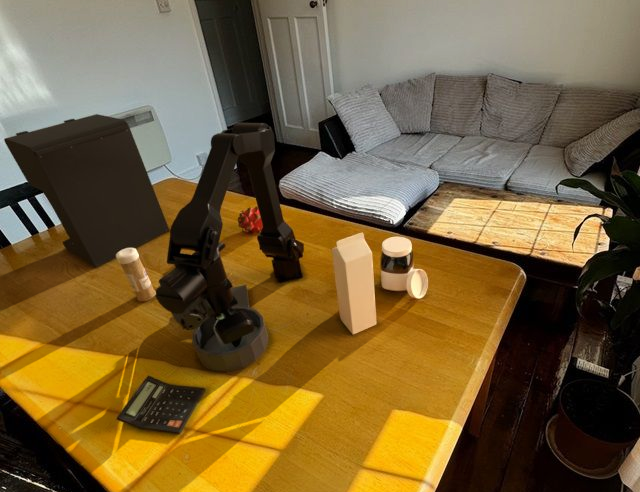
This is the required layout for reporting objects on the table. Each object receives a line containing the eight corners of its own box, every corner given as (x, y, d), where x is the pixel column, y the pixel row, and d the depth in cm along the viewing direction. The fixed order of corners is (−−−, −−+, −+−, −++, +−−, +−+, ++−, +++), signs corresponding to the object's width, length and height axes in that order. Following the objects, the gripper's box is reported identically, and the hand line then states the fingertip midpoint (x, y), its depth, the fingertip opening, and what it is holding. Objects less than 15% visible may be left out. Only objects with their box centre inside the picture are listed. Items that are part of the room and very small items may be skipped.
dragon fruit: (238, 241, 127) (271, 231, 134) (249, 234, 120) (283, 223, 127) (227, 216, 126) (261, 207, 134) (237, 207, 120) (272, 198, 127)
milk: (376, 324, 90) (372, 238, 77) (352, 335, 88) (343, 248, 75) (362, 309, 95) (356, 225, 82) (339, 319, 92) (329, 234, 80)
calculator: (180, 434, 71) (174, 424, 69) (121, 427, 73) (114, 417, 72) (205, 390, 79) (201, 380, 77) (151, 385, 81) (146, 374, 79)
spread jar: (385, 271, 106) (383, 232, 99) (429, 274, 104) (431, 234, 97) (377, 301, 97) (375, 260, 90) (426, 305, 94) (427, 263, 88)
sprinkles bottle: (158, 297, 104) (137, 252, 96) (138, 304, 102) (116, 259, 94) (154, 288, 107) (134, 244, 99) (135, 295, 105) (113, 251, 97)
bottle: (246, 333, 90) (236, 303, 85) (247, 350, 86) (237, 320, 81) (221, 339, 89) (209, 309, 84) (221, 357, 85) (209, 326, 80)
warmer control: (248, 291, 103) (244, 278, 101) (250, 313, 96) (246, 300, 94) (198, 302, 101) (193, 289, 99) (197, 326, 94) (191, 313, 92)
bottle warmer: (265, 316, 95) (260, 300, 92) (271, 361, 84) (266, 344, 81) (200, 332, 92) (193, 315, 89) (198, 380, 81) (190, 363, 78)
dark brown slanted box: (148, 212, 145) (106, 108, 125) (181, 225, 135) (140, 115, 115) (65, 249, 127) (0, 136, 107) (96, 268, 117) (30, 146, 97)
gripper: (154, 273, 80) (180, 331, 89) (182, 324, 68) (209, 385, 77) (209, 252, 85) (229, 309, 94) (246, 295, 73) (264, 357, 82)
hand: (231, 338), depth 87 cm, fingers closed on bottle, 5 cm apart
